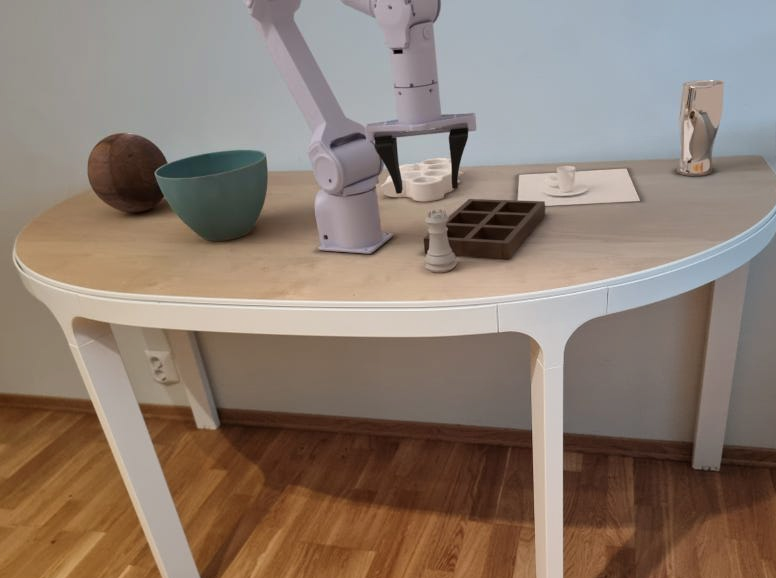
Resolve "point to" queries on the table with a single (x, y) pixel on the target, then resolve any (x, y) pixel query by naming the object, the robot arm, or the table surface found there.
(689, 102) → the beer glass
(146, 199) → the wooden sphere
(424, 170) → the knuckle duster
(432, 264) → the rook chess piece
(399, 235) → the table surface
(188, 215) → the plant pot
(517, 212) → the rack
